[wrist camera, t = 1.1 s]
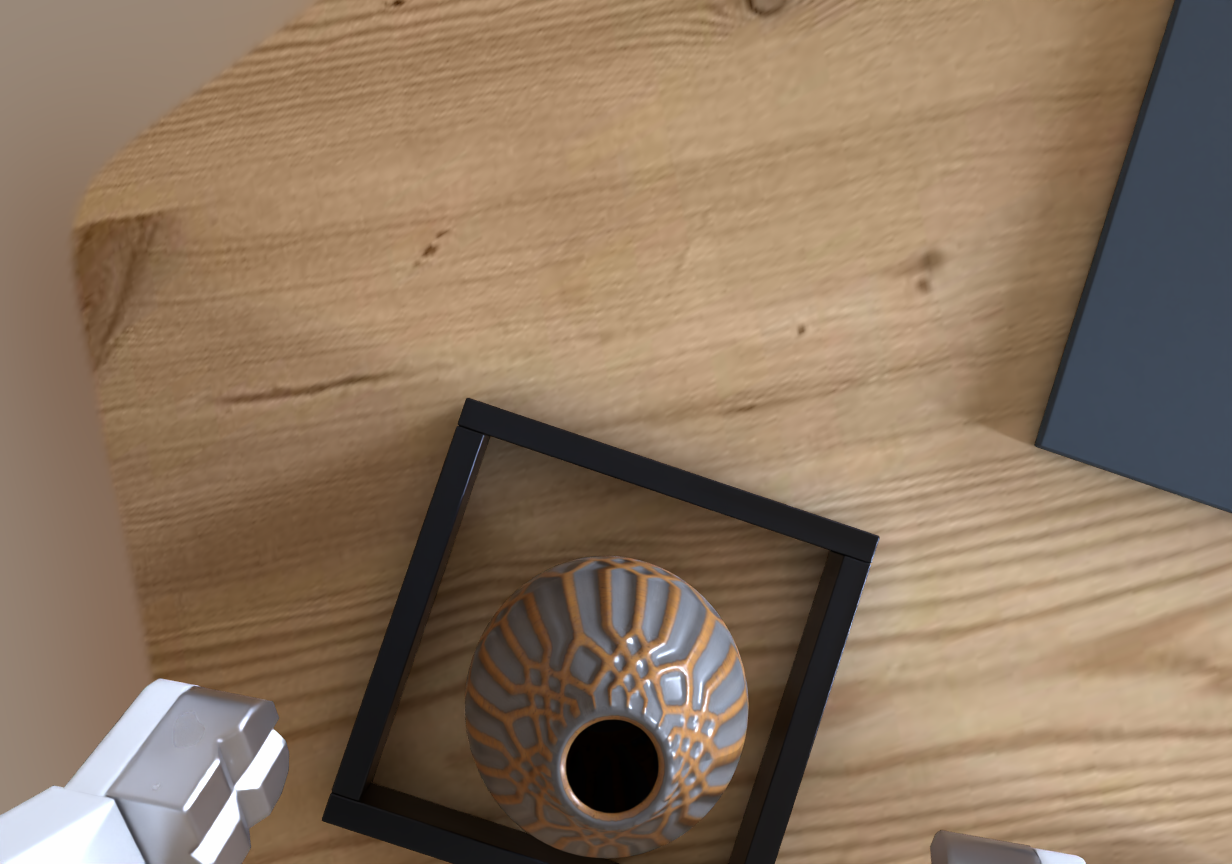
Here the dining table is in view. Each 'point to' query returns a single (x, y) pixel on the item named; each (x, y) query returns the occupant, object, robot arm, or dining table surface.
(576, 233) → the dining table surface
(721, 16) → the dining table surface
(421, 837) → the black open square frame
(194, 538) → the dining table surface
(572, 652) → the vase
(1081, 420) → the mat
